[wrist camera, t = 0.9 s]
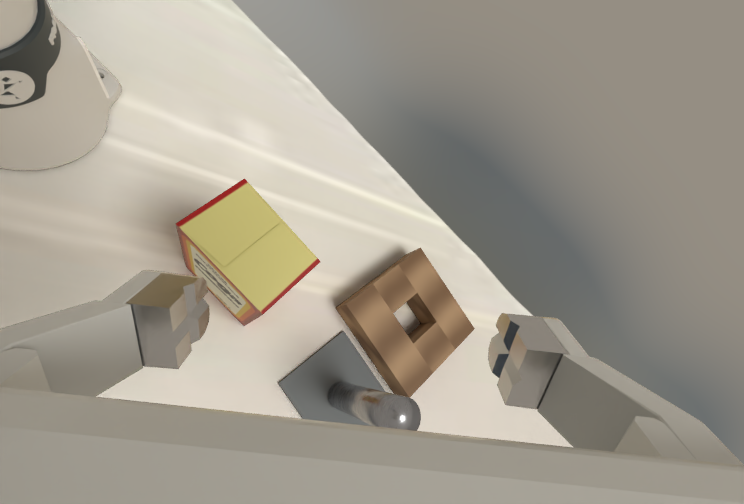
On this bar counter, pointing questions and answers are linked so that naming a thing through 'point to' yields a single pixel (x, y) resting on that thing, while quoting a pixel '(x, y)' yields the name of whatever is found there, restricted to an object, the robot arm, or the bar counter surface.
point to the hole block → (387, 337)
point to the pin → (375, 406)
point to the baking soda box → (243, 251)
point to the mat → (328, 380)
